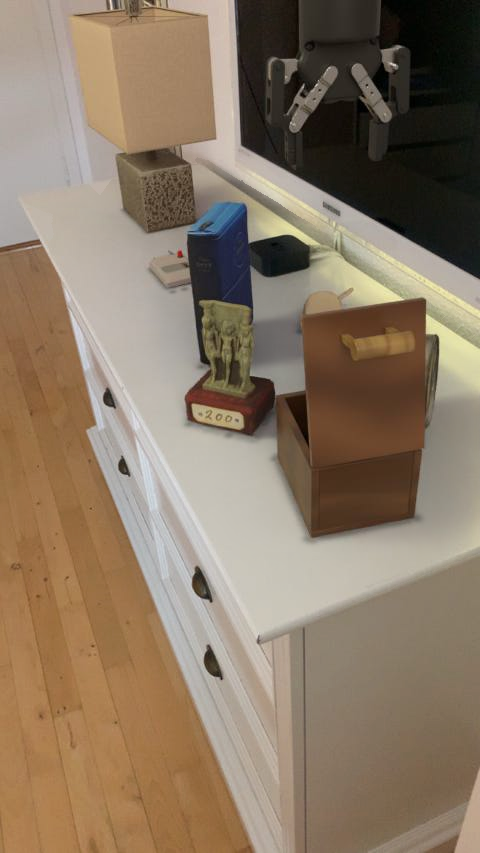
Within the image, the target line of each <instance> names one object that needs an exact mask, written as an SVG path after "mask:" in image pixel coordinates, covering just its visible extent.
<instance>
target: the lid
mask: <svg viewBox="0 0 480 853" xmlns="http://www.w3.org/2000/svg"><path fill="white" fill-rule="evenodd" d="M300 321H301V322H302V329H301V335H302V350H303V352H302V354H303V367H304V368H303V369H304V383H305V384H304V385H305V390H306V401H307V417H308V433H309V449H310V464H311V466H312V468H318V467H324V466H330V465H335V464H341V463H346V462H352V461H357V460H363V459H368V458H374V457H379V456H385V455H390V454H396V453H401V452H407V451H412V450H418V449H422V450H423V449H425V446H426V444H425V443H426V442H425V441H426V438H425V437H426V434H425V433H426V431H425V430H426V429H425V363H426V334H427V299H426V298H425V297H422V296H421V297H415V298H409V299H402V300H396V301H388V302H382V303H376V304H375V303H374V304H367V305H362V306H354V307H348V308H342V309H341V310H334V311H327V312H321V313H314V314H307V315H303V314H301V315H300Z"/></svg>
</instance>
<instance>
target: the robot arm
mask: <svg viewBox="0 0 480 853" xmlns="http://www.w3.org/2000/svg"><path fill="white" fill-rule="evenodd" d="M381 5H382V0H298V31H299V32H298V42H299V43H298V45H299V46H298V51H297V54H296V57H295V58H278V57H276V56H270V57H269V58H268V59H267V61H266V75H265V80H266V81H265V120H266V122H267V123H268V124H270V125H271V126H272V127H273V128H274V129H282V130H283V132H284V134H283V135H284V158H285V160H286V163H287V164H288V165H290V167H291V168H292V169H293V170H294V171H303V168H304V160H303V159H304V154H303V153H304V152H303V151H304V148H303V147H304V144H303V142H304V141H303V133H304V132H302V131H301V129H302V128H303V126H304V124H305V123H306V121H307V119H308V118H309V116H310V115H311V114H313V113H314V111H315V110H316V109H317V107H318V106H319V104H320V103H323V104H325V105H330V104H335V103H338V102H340V101H344V102H356V101H357V99H360V100H361V102H363V103H364V105H365V106H366V108H367V110H368V111H369V113H370V114H371V115H372V119H370V120H369V127H368V128H369V130H368V132H369V133H368V134H369V135H368V149H367V150H368V152H367V155H368V158H369V159H370V160H371V161H373V162H380V161H382V160H383V155H386V153H387V151H388V149H389V148H388V147H389V146H388V145H389V130H390V129H389V128H390V122H391V121H392V119H394V118H395V117H397V116H399V115H405V114H406V113H408V111H409V109H410V93H411V92H410V91H411V88H410V86H411V50H410V49H409V48H408V47H405V46H403V45H399V44H393V45H392V46H391V47H390V48H384V49H381V48H380V44H379V36H380V30H381V29H380V26H381V7H382V6H381ZM382 63H383V67H384V70H385V71H386V72H388V100H387V101H386V102H385V100H384V99H383V96H382V94H381V92H380V91H379V90H378V88H377V86H376V85H375V83H374V81H373V78H374V77H375V75H376V73H377V72H378V70H379V69H380V67H381V65H382ZM295 72H296V74H297V76H298V77H299V78H300V80H301V81H302V83H303V84H302V85H301V87H300V89H299V90H298V92H297V93H296V95H295V96H294V98H293V102H292V105H291V106H290V107H289V109H288V111H287V113H284V108H285V85H287V84H288V83H289V82H290V81H291V78H292V75H293V74H294V73H295Z"/></svg>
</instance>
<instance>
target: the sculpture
mask: <svg viewBox="0 0 480 853" xmlns="http://www.w3.org/2000/svg"><path fill="white" fill-rule="evenodd" d="M199 305H201V306H202V307H203V308H204V316H203V317H202V324H203V329H202V335H203V343H204V348H205V353H206V356H207V358H208V359H209V361H210V363H211V365H210V369H208V370H207V371H206V372H205V373H204V375H202V377H200V378H199V379H198V381H196V382H195V383H194V385H193V386H192V387H191V388H190V389H188V391H187V392H186V393H185V395H184V402H185V408H186V410H185V411H186V412H185V413H186V417H187V420H188V421H190V422H194V423H198V424H203V425H207V426H211V427H216V428H219V429H223V430H226V431H227V430H228V431H232V432H236V433H239V434H240V433H241V434H245V435H248V436H253V435H254V433H255V432H256V431H257V429H258V428H259V426H261V424H262V422H264V419H265V418H266V417H267V416H268V415H269V413H270V412H271V411H272V410H273V409H274V406H275V404H276V391H275V390H276V388H275V382H274V381H273V380H272V379H271V378H267V377H260V376H255V375H251V374H250V373H251V365H252V364H253V355H254V347H255V336H254V330H255V329H254V326H253V324H251V316H252V309H250V308H249V307H248V306H244V305H238V304H231V303H225V302H220V301H216V300H201V301H200V302H199Z"/></svg>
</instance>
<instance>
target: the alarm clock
mask: <svg viewBox="0 0 480 853" xmlns="http://www.w3.org/2000/svg"><path fill="white" fill-rule="evenodd" d="M439 361H440V337H439V335H438V334H437V333H426V363H425V430H426V429H428V428H429V427H430V425H431V421H432V419H433V412H434V408H435V402H436V400H435V399H436V392H437V386H438V377H439V374H438V373H439V364H440V362H439Z"/></svg>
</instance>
